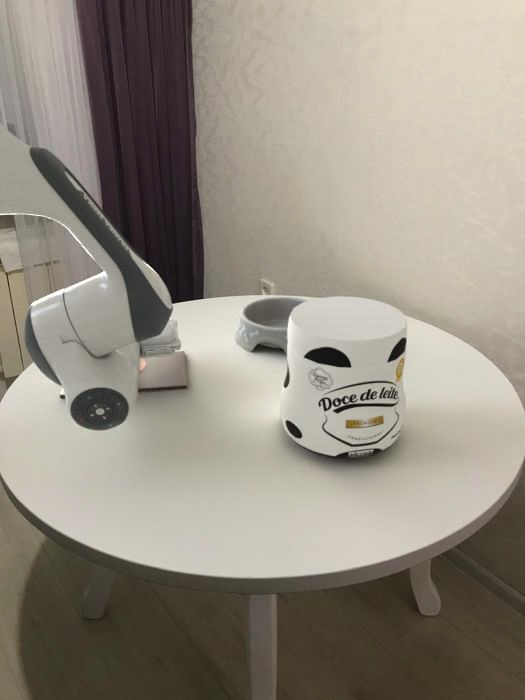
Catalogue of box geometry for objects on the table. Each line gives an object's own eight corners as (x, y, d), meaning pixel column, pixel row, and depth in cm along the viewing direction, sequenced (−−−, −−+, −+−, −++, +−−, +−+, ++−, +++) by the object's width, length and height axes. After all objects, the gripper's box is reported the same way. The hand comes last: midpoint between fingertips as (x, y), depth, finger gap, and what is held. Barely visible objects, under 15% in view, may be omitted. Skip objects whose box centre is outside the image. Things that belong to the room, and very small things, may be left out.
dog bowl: (318, 362, 104) (320, 334, 102) (222, 348, 109) (221, 322, 107) (337, 326, 119) (339, 301, 116) (251, 315, 124) (251, 291, 121)
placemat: (60, 398, 93) (59, 394, 93) (71, 361, 104) (70, 357, 104) (187, 388, 96) (187, 384, 95) (184, 353, 107) (184, 350, 107)
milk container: (359, 488, 73) (370, 358, 65) (254, 437, 83) (253, 319, 75) (424, 429, 85) (440, 313, 77) (325, 391, 95) (331, 285, 87)
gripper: (180, 331, 86) (177, 298, 99) (35, 340, 84) (51, 305, 96) (182, 369, 89) (180, 333, 101) (42, 379, 86) (57, 341, 99)
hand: (116, 319), depth 99 cm, fingers closed on can, 6 cm apart
